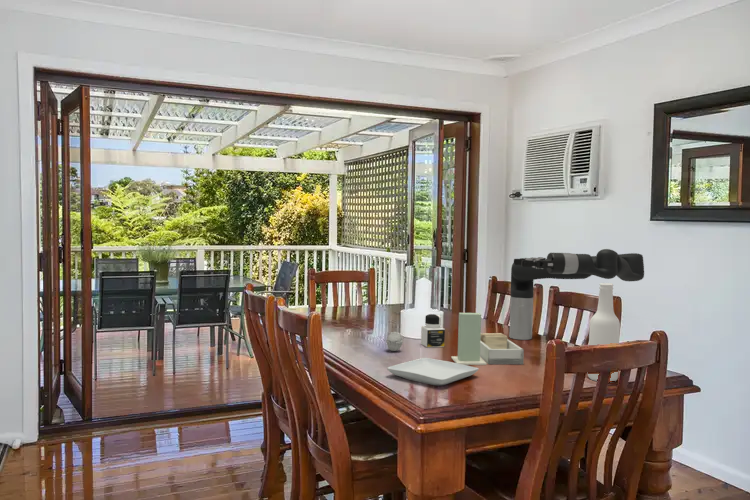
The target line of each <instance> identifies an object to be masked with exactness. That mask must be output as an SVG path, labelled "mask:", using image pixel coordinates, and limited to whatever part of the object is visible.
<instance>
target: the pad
mask: <svg viewBox="0 0 750 500" xmlns="http://www.w3.org/2000/svg"><path fill="white" fill-rule="evenodd" d="M450 357H451V360H453V361H454V362H453V363H458V364H463V365H467V366H487V364H488V363H487V362H486V361H485V360H483V359H482V358H481V357H480V361H459V360H458V355H456V356H455V355H454V356H453V355H452V356H450Z"/></svg>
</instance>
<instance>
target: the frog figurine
mask: <svg viewBox="0 0 750 500" xmlns="http://www.w3.org/2000/svg"><path fill="white" fill-rule="evenodd" d="M403 343H404V340H403V337H402V335H401V333H400V332H398V331H391V332H390V333H389V334H388V337H387V339H386V345H387V348H388V350H389V351H391V352H397V351H399V350H400V349H401V347H402V345H403Z"/></svg>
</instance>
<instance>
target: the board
mask: <svg viewBox="0 0 750 500" xmlns="http://www.w3.org/2000/svg"><path fill="white" fill-rule="evenodd" d="M457 333H458V334H457V336H458V337H457V356H458V360H459V361H480V358H481V357H480V338H481V333H482V314H481V313H479V312H458V331H457Z"/></svg>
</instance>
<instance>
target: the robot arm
mask: <svg viewBox="0 0 750 500" xmlns="http://www.w3.org/2000/svg"><path fill="white" fill-rule="evenodd" d="M591 276H596V277H599V278H601V279H606V280H611V279H614V278H616V277H617V278H618V279H620V280H622V281H624V282H638V281H642V280H643V279H644V278H645V264H644V257H643V254H640V253H635V252H633V253H632V252H631V253H618V252H617V251H616V250H613V249H611V248H604V249H601V250H599V251H598V252H597V253H596V255H593V256H592V255H591V254H589V253H588V254H587V253H570V252H549V253H548V254H547V255H546V257H541V256H540V257H523V258H522V257H521V258H514V259H513V263H512V265H511V269H510V306H509V335H508V337H509V338H510V339H512V340H513V339H514V340H519V341H523V340H526V341H527V340H532V339H533V317H534V315H533V313H534V291H535V290H534V281H535V280H542V279H556V280H585V279H588V278H590V277H591Z"/></svg>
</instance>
